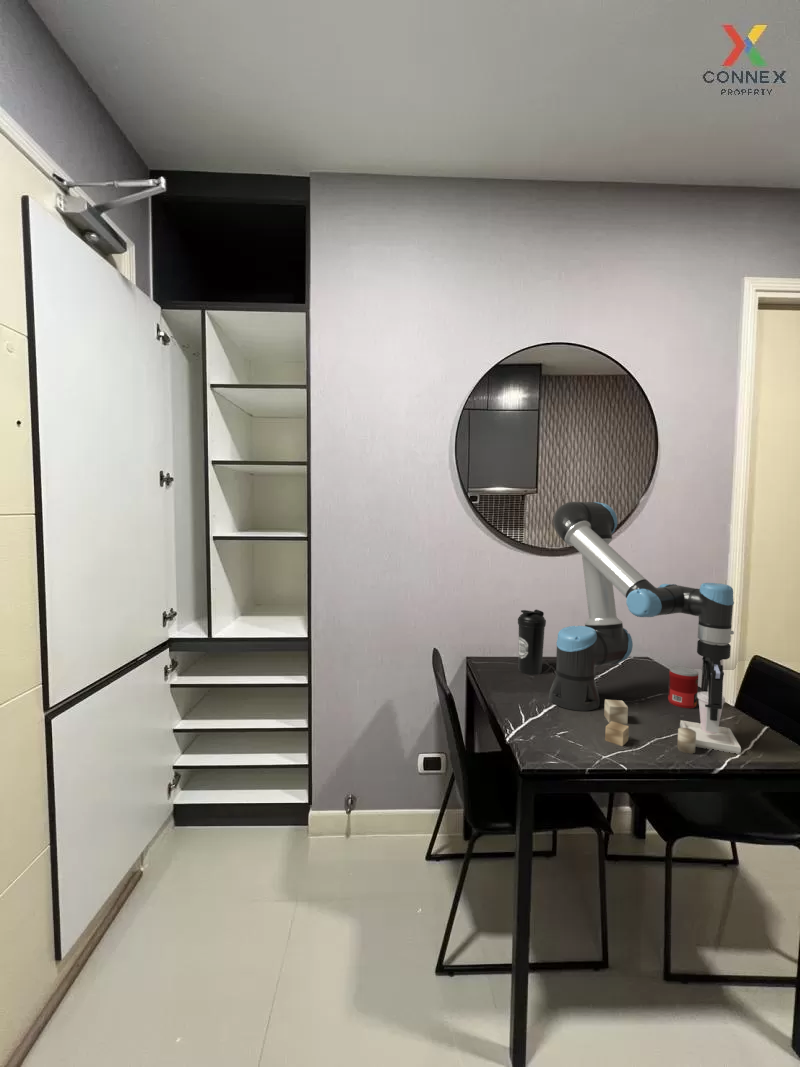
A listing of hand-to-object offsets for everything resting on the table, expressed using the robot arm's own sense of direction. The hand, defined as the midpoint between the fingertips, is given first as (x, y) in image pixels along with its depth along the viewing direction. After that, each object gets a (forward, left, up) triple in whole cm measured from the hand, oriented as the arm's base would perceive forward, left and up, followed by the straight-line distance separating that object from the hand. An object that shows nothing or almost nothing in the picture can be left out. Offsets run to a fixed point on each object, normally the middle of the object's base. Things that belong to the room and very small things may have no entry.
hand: (709, 725), depth 132 cm
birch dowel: (-7, -9, -4) cm, 12 cm away
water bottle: (-52, +36, -4) cm, 63 cm away
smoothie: (0, 0, -2) cm, 2 cm away
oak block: (-23, -11, -4) cm, 26 cm away
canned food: (-3, +25, -4) cm, 26 cm away
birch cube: (-23, +3, -4) cm, 24 cm away
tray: (0, 0, -4) cm, 4 cm away
